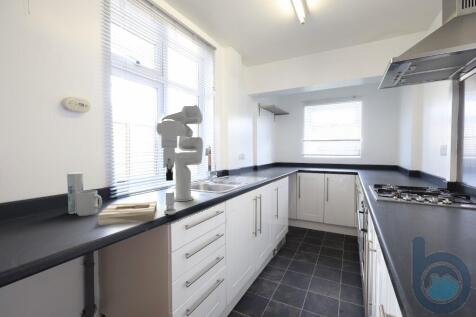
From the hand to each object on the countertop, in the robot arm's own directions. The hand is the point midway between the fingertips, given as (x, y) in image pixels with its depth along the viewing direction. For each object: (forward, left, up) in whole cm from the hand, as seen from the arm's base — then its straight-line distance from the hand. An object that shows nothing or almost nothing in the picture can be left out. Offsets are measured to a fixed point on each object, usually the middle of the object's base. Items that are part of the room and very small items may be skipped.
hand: (169, 179), depth 107 cm
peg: (0, 0, -17) cm, 17 cm away
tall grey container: (-16, -46, -18) cm, 52 cm away
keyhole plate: (0, -18, -17) cm, 25 cm away
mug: (-11, -38, -18) cm, 43 cm away
